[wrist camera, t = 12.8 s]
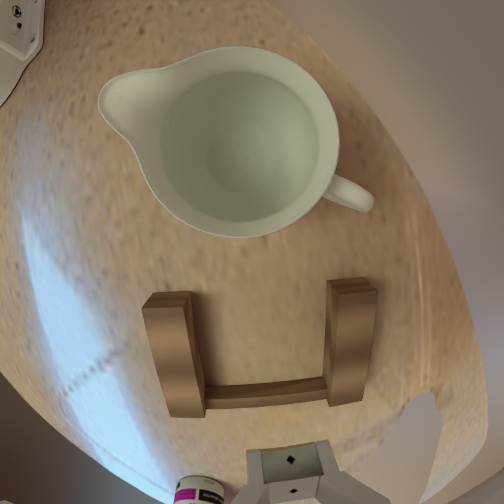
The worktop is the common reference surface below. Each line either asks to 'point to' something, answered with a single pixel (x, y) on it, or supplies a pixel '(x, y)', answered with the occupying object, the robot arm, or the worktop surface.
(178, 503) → the supplement can
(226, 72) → the pitcher
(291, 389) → the holder
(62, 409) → the worktop surface
